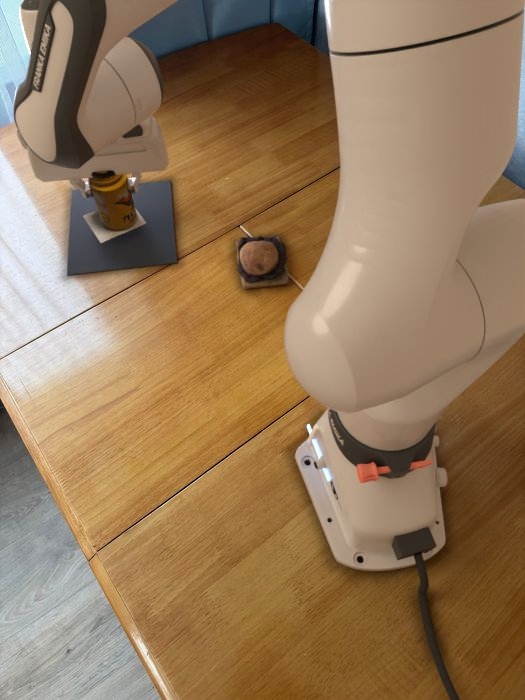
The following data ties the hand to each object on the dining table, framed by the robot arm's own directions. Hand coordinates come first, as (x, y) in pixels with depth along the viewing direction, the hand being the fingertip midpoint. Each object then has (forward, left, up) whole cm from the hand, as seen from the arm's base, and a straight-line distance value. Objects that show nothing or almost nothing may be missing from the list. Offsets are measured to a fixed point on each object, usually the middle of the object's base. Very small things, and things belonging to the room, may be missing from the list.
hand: (112, 192), depth 86 cm
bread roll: (-12, -23, -8) cm, 27 cm away
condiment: (0, +1, -6) cm, 6 cm away
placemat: (0, 0, -7) cm, 7 cm away
